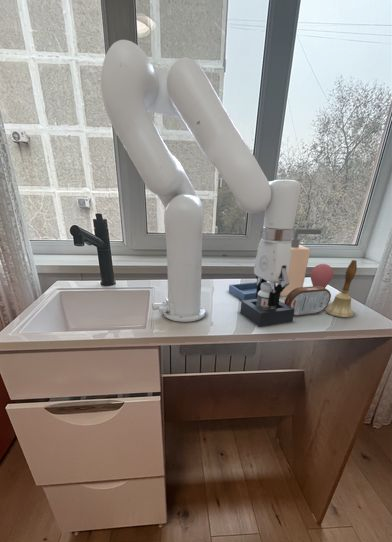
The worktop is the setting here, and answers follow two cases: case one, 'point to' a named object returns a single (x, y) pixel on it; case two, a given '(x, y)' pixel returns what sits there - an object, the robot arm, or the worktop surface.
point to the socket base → (266, 313)
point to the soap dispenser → (298, 261)
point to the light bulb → (321, 275)
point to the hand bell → (344, 295)
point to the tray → (244, 290)
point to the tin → (308, 300)
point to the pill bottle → (264, 296)
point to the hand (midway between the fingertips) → (266, 301)
